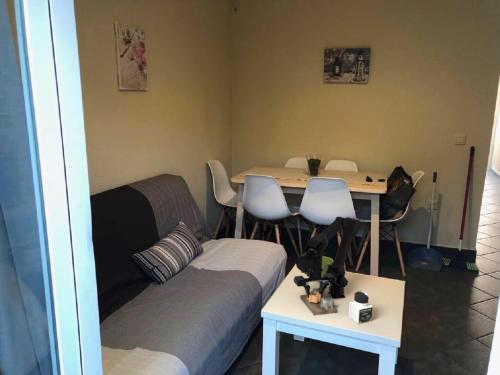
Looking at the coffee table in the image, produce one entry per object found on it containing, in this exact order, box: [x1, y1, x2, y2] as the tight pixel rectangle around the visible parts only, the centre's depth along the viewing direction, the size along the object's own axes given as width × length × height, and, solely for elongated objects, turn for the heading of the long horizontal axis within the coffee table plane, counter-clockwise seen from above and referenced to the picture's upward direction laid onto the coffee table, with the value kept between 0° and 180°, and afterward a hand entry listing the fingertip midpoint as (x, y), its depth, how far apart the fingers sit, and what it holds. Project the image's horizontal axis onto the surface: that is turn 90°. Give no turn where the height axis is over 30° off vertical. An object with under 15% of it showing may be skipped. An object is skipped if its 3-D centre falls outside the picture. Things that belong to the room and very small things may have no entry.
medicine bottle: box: [348, 290, 373, 325], centre depth 176 cm, size 7×7×12 cm
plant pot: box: [317, 255, 334, 283], centre depth 216 cm, size 12×12×11 cm
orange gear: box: [307, 290, 321, 303], centre depth 188 cm, size 6×6×3 cm
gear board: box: [299, 287, 338, 316], centre depth 188 cm, size 11×17×6 cm, turn 14°
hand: (313, 297), depth 188 cm, fingers closed on orange gear, 5 cm apart
